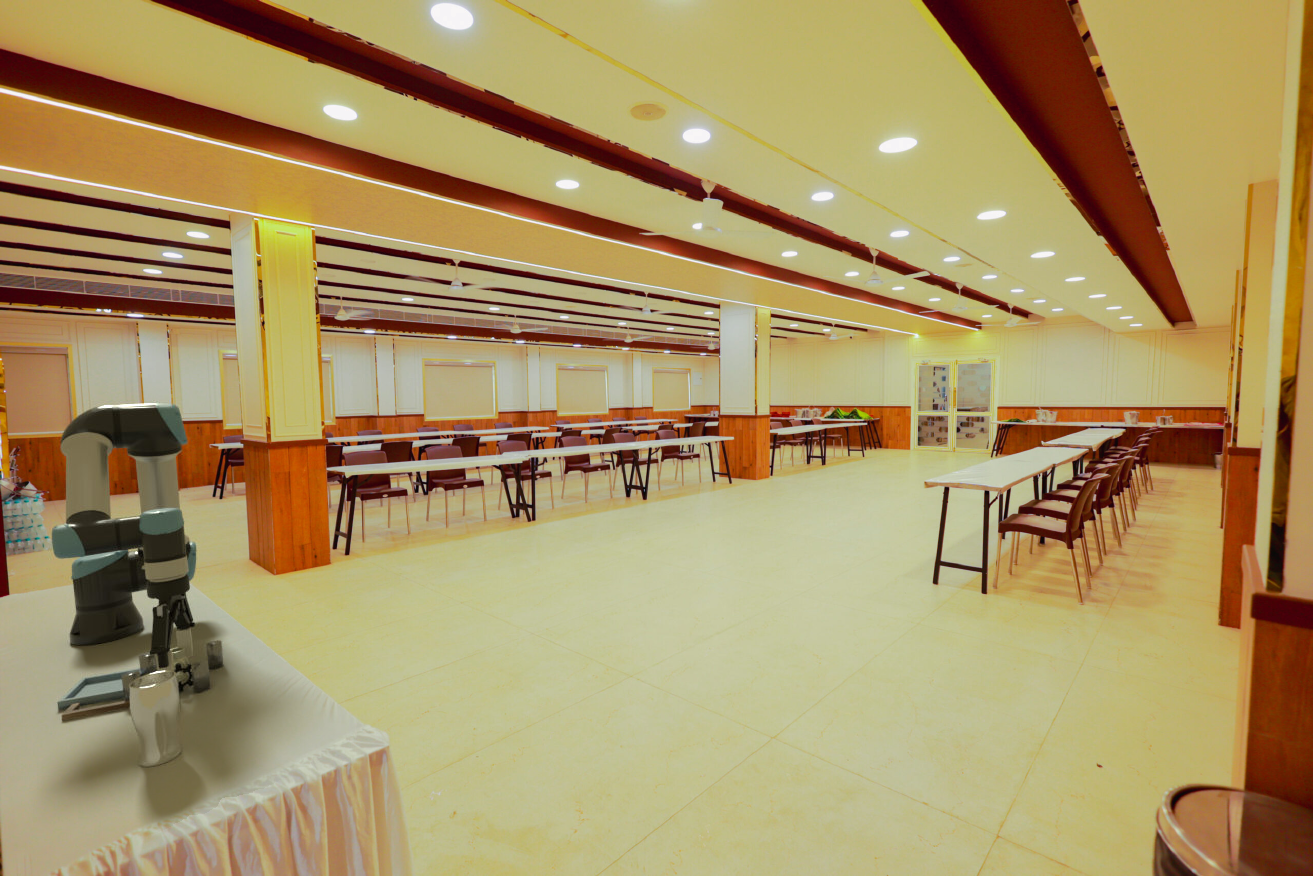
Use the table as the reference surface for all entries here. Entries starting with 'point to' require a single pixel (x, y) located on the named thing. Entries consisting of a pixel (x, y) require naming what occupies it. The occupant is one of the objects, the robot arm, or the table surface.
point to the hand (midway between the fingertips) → (176, 668)
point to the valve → (181, 667)
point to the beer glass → (156, 716)
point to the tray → (95, 690)
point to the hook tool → (93, 709)
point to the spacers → (198, 669)
